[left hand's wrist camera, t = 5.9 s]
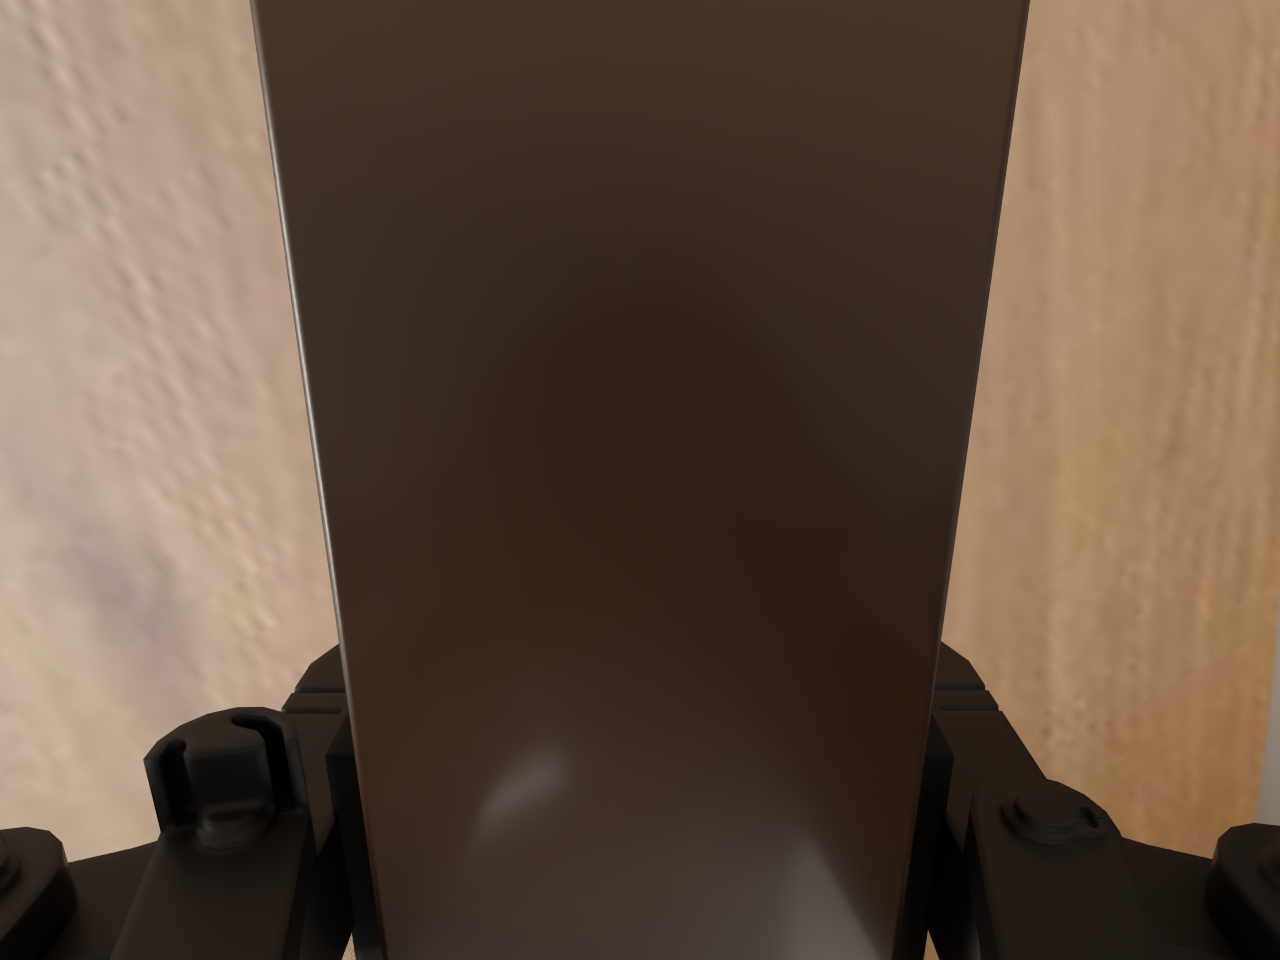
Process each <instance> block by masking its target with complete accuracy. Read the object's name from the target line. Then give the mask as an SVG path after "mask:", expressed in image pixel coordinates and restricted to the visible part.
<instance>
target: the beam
mask: <svg viewBox="0 0 1280 960" xmlns="http://www.w3.org/2000/svg"><path fill="white" fill-rule="evenodd" d="M1029 5H1030V0H250V7H251V14H252V21H253V28H254V35H255V43H256V50H257V57H258V64H259V71H260V78H261V86H262V93H263V100H264V107H265V114H266V122H267V129H268V136H269V143H270V150H271V157H272V165H273V172H274V179H275V186H276V193H277V201H278V208H279V215H280V222H281V229H282V236H283V244H284V251H285V258H286V265H287V272H288V280H289V287H290V294H291V301H292V308H293V315H294V323H295V330H296V337H297V344H298V351H299V358H300V366H301V373H302V380H303V387H304V394H305V402H306V409H307V416H308V423H309V430H310V437H311V445H312V452H313V459H314V466H315V473H316V481H317V488H318V495H319V502H320V509H321V516H322V524H323V531H324V538H325V545H326V552H327V560H328V567H329V574H330V581H331V588H332V595H333V603H334V610H335V617H336V624H337V631H338V638H339V646H340V653H341V660H342V667H343V674H344V682H345V689H346V696H347V703H348V710H349V717H350V725H351V732H352V739H353V746H354V753H355V761H356V768H357V775H358V782H359V789H360V796H361V804H362V811H363V818H364V825H365V832H366V840H367V847H368V854H369V861H370V868H371V875H372V883H373V890H374V897H375V904H376V911H377V918H378V926H379V933H380V940H381V947H382V954H383V960H896V959H897V952H898V945H899V938H900V930H901V923H902V916H903V909H904V902H905V895H906V887H907V880H908V873H909V866H910V859H911V851H912V844H913V837H914V830H915V823H916V816H917V808H918V801H919V794H920V787H921V780H922V773H923V765H924V758H925V751H926V744H927V737H928V729H929V722H930V715H931V708H932V701H933V694H934V686H935V679H936V672H937V665H938V658H939V651H940V643H941V636H942V629H943V622H944V615H945V607H946V600H947V593H948V586H949V579H950V572H951V564H952V557H953V550H954V543H955V536H956V529H957V521H958V514H959V507H960V500H961V493H962V485H963V478H964V471H965V464H966V457H967V450H968V442H969V435H970V428H971V421H972V414H973V407H974V399H975V392H976V385H977V378H978V371H979V364H980V356H981V349H982V342H983V335H984V328H985V320H986V313H987V306H988V299H989V292H990V285H991V277H992V270H993V263H994V256H995V249H996V242H997V234H998V227H999V220H1000V213H1001V206H1002V198H1003V191H1004V184H1005V177H1006V170H1007V163H1008V155H1009V148H1010V141H1011V134H1012V127H1013V120H1014V112H1015V105H1016V98H1017V91H1018V84H1019V76H1020V69H1021V62H1022V55H1023V48H1024V41H1025V33H1026V26H1027V19H1028V12H1029Z"/></svg>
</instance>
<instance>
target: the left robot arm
mask: <svg viewBox="0 0 1280 960" xmlns="http://www.w3.org/2000/svg"><path fill="white" fill-rule="evenodd" d="M281 710H282V711H281V712H280V711H276V710H273V709H269V708H265V707H236V708H232V709H227V710H223V711H218V712H214V713H209V714H206V715H204V716H201V717H199V718H197V719H194V720H192V721H190V722H187V723H185V724H183V725H180V726H179V727H177V728H176V729H175V730H173V731H172V732H170V733H169V734H167V735H166V736H164V737H163V738H162V739H160V740H159V741H157V743H156V744H155V745H154V746H153V748H152V749H151V750H150V751H149V753H148V754H147V755H146V756H145V758H144V759H143V761H144V765H145V769H146V773H147V777H148V781H149V785H150V789H151V794H152V798H153V802H154V806H155V810H156V814H157V818H158V822H159V827H160V831H161V833H160V836H159V838H158V841H155V842H152V843H148V844H145V845H142V846H138V847H135V848H131V849H127V850H123V851H118V852H114V853H109V854H105V855H101V856H96V857H92V858H87V859H83V860H79V861H74V862H70V863H68V861H67V858H66V855H65V851H64V848H63V844H62V842H61V841H60V840H59V839H58V838H56V837H55V836H54V835H53V834H52V833H51V832H50V831H47V830H41V829H36V828H30V827H20V828H12V829H3V830H0V960H342V957H343V955H344V952H345V949H346V947H347V944H348V941H349V938H350V936H351V933H352V937H353V944H354V950H355V957H356V960H383V954H382V947H381V940H380V933H379V926H378V918H377V911H376V904H375V897H374V890H373V883H372V875H371V868H370V861H369V854H368V847H367V840H366V832H365V825H364V818H363V811H362V804H361V796H360V789H359V782H358V775H357V768H356V761H355V753H354V746H353V739H352V732H351V725H350V717H349V710H348V703H347V696H346V689H345V682H344V674H343V667H342V660H341V653H340V646H339V644H338V645H336V646H335V647H333V648H332V649H331V650H329V651H328V652H326V653H325V654H324V655H322V656H321V657H320V658H318V659H317V660H315V661H314V662H313V663H311V664H310V666H309V667H308V669H307V670H306V672H305V673H304V675H303V677H302V678H301V680H300V681H299V683H298V684H297V686H296V687H295V693H291V695H290V696H289V698H288V699H287V701H286V703H285V704H284V706H283V707H282V709H281ZM928 931H929V933H930V936H931V939H932V941H933V944H934V947H935V949H936V952H937V955H938V957H939V960H1280V826H1276V825H1267V824H1259V823H1251V824H1246V825H1240V826H1234V827H1231V828H1230V829H1228V830H1227V831H1226V832H1225V833H1224V834H1223V835H1222V836H1221V837H1220V838H1218V842H1217V845H1216V848H1215V852H1214V855H1213V859H1209V858H1204V857H1200V856H1196V855H1191V854H1187V853H1182V852H1178V851H1173V850H1169V849H1164V848H1160V847H1156V846H1151V845H1147V844H1144V843H1140V842H1137V841H1133V840H1130V839H1127V838H1123V837H1121V834H1120V832H1119V830H1118V829H1117V827H1116V826H1115V824H1114V823H1113V821H1112V820H1111V818H1110V817H1109V815H1108V814H1107V812H1106V811H1105V810H1103V809H1102V808H1101V807H1100V806H1098V805H1097V804H1096V803H1094V802H1093V801H1092V800H1091V799H1089V798H1088V797H1087V796H1086V795H1084V794H1082V793H1080V792H1078V791H1076V790H1074V789H1072V788H1070V787H1068V786H1066V785H1064V784H1062V783H1059V782H1057V781H1053V780H1049V779H1046V777H1045V776H1044V774H1043V773H1042V771H1041V770H1040V768H1039V767H1038V765H1037V764H1036V762H1035V761H1034V759H1033V758H1032V756H1031V755H1030V753H1029V751H1028V750H1027V748H1026V747H1025V745H1024V744H1023V742H1022V741H1021V739H1020V738H1019V736H1018V735H1017V733H1016V732H1015V730H1014V729H1013V727H1012V726H1011V724H1010V723H1009V721H1008V720H1007V718H1006V717H1005V715H1004V714H1003V712H1002V711H999V709H998V704H997V703H996V701H995V700H994V698H993V697H992V695H991V694H990V692H989V691H988V690H985V685H984V683H983V682H982V680H981V679H980V677H979V676H978V674H977V673H976V671H975V670H974V668H973V666H972V665H971V663H970V662H969V661H968V660H967V659H965V658H964V657H963V656H961V655H960V654H958V653H957V652H956V651H954V650H953V649H951V648H950V647H949V646H947V645H946V644H944V643H943V642H942V641H941V643H940V651H939V658H938V665H937V672H936V679H935V686H934V694H933V701H932V708H931V715H930V722H929V729H928V737H927V744H926V751H925V758H924V765H923V773H922V780H921V787H920V794H919V801H918V808H917V816H916V823H915V830H914V837H913V844H912V851H911V859H910V866H909V873H908V880H907V887H906V895H905V902H904V909H903V916H902V923H901V930H900V938H899V945H898V952H897V959H896V960H923V959H924V952H925V946H926V939H927V933H928Z"/></svg>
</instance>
